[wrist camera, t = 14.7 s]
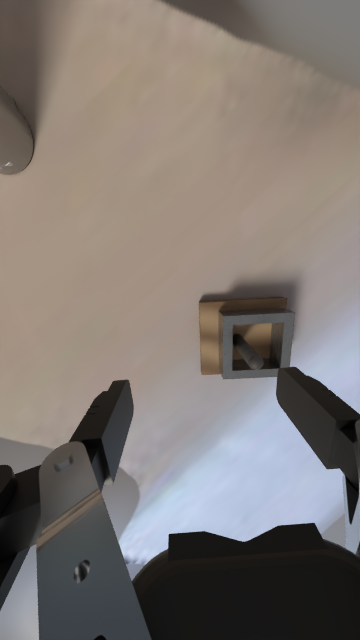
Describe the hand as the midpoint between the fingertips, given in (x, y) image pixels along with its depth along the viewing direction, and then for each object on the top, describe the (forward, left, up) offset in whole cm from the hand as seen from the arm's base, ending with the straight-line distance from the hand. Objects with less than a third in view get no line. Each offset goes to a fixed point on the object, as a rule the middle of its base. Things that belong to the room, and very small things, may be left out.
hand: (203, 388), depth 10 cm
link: (+6, +11, -24) cm, 27 cm away
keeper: (+6, +9, -25) cm, 27 cm away
